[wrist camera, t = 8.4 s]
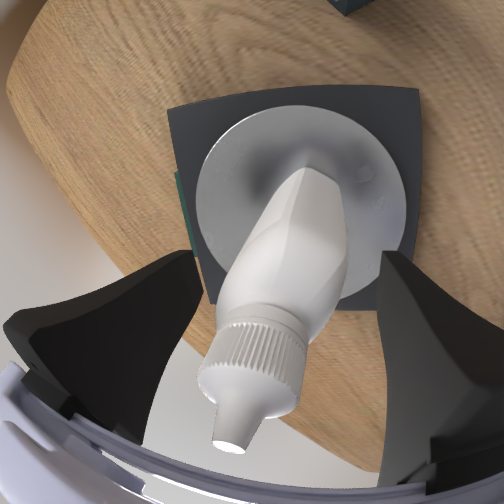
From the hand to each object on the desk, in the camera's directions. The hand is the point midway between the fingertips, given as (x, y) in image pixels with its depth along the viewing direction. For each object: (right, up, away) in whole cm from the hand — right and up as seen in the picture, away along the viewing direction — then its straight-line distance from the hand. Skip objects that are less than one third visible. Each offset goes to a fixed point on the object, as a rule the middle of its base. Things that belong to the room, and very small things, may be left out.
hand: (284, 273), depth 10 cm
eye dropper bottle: (+1, +3, +5) cm, 6 cm away
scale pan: (+1, +3, +5) cm, 6 cm away
